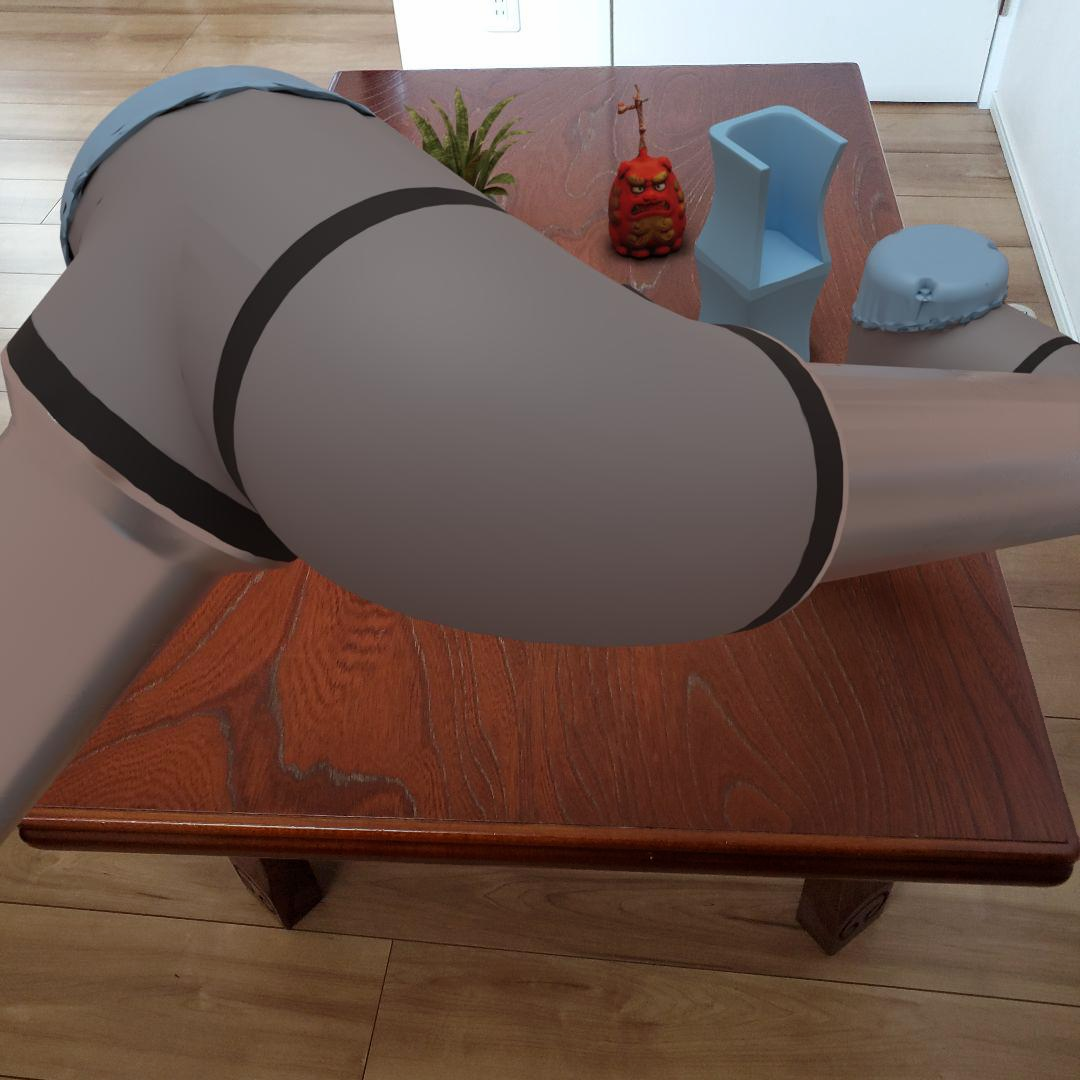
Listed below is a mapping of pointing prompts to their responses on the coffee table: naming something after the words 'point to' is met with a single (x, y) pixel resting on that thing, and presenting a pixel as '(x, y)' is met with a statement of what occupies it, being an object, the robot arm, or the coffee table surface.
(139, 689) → the coffee table surface
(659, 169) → the red clay folk toy
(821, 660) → the coffee table surface
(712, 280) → the blue high-backed chair
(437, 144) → the house plant
